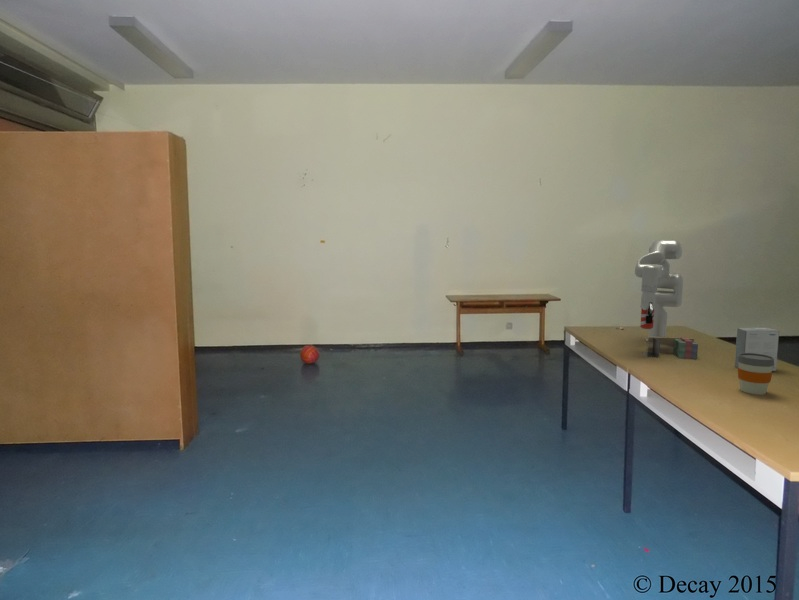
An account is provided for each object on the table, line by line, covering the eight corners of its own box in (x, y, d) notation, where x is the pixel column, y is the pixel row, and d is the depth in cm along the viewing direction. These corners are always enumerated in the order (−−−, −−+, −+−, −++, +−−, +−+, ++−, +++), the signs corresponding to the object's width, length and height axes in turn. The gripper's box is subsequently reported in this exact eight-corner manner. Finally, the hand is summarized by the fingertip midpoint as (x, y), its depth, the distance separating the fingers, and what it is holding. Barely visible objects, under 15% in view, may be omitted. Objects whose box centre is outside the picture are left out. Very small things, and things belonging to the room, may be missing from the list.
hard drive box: (766, 367, 250) (770, 327, 247) (776, 371, 242) (780, 330, 240) (733, 366, 251) (737, 327, 249) (742, 370, 244) (745, 330, 241)
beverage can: (638, 327, 274) (640, 305, 272) (651, 327, 273) (652, 305, 271) (641, 329, 268) (643, 307, 266) (654, 329, 267) (656, 307, 265)
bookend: (642, 352, 281) (643, 337, 279) (653, 353, 279) (654, 337, 278) (647, 357, 271) (648, 340, 270) (659, 357, 270) (660, 341, 269)
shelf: (646, 352, 282) (648, 335, 281) (691, 354, 277) (693, 337, 276) (652, 356, 271) (653, 339, 270) (699, 359, 267) (700, 341, 265)
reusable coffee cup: (756, 386, 218) (759, 352, 216) (779, 395, 205) (782, 359, 204) (728, 386, 217) (731, 353, 216) (749, 396, 205) (752, 360, 203)
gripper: (637, 286, 276) (635, 319, 279) (645, 290, 260) (643, 324, 262) (652, 287, 275) (650, 319, 277) (661, 290, 258) (659, 325, 261)
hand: (647, 321), depth 270 cm, fingers closed on beverage can, 6 cm apart
